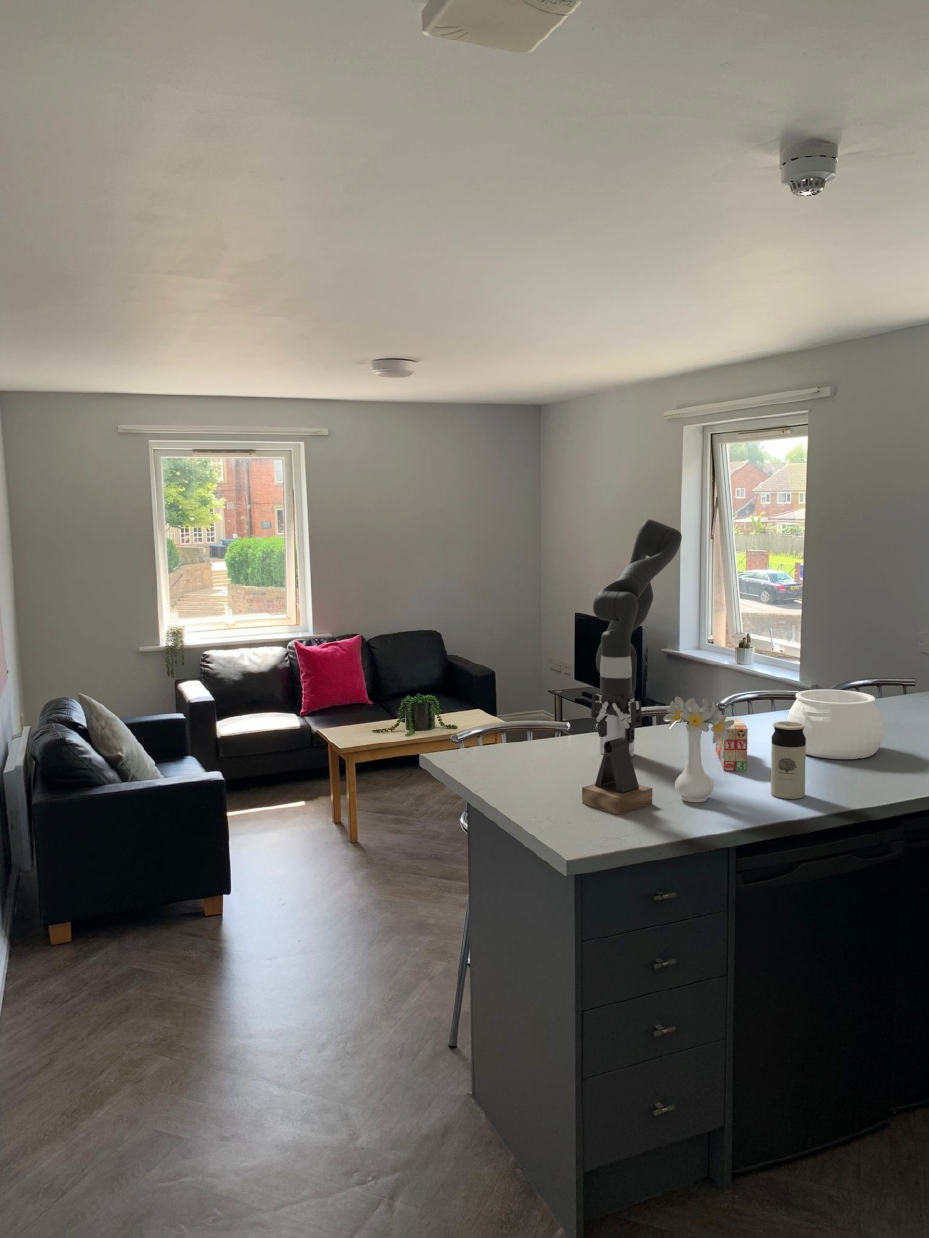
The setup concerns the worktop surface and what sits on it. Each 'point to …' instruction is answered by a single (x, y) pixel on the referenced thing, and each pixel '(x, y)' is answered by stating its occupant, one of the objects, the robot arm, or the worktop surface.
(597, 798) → the walnut base
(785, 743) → the travel mug
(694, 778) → the flower vase
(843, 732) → the pot
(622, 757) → the door stopper
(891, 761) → the worktop surface
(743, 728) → the stack of blocks
